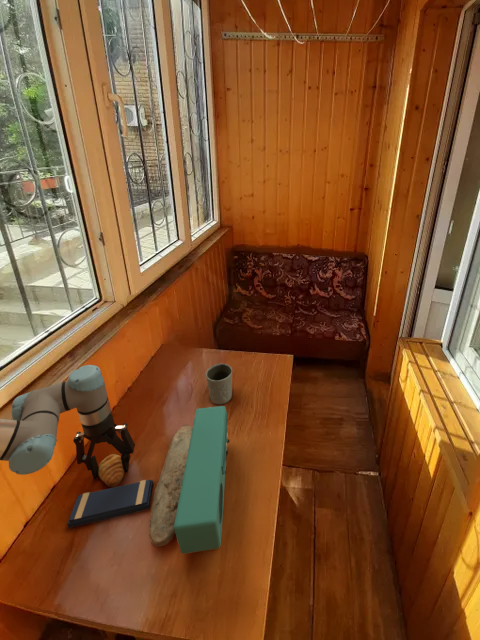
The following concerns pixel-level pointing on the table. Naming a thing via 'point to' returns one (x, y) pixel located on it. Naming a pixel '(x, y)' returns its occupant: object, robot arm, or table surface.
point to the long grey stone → (169, 488)
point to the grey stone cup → (220, 383)
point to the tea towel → (111, 503)
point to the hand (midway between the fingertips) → (111, 471)
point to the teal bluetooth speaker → (203, 483)
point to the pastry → (111, 470)
